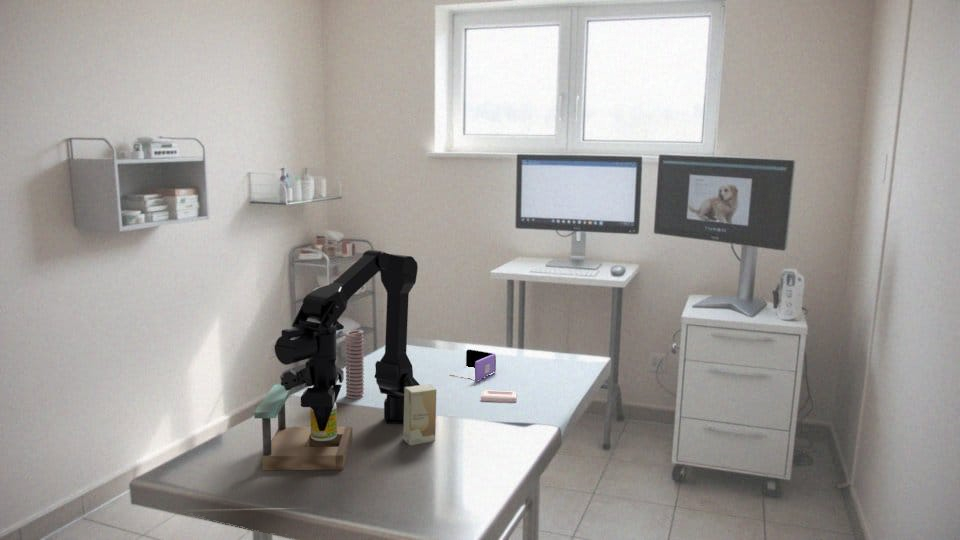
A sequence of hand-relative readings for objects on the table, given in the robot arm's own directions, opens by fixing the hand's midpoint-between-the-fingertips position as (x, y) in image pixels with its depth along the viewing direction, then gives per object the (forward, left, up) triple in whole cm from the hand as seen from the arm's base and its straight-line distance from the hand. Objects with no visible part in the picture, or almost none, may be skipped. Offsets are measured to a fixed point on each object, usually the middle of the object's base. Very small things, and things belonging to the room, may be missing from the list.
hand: (324, 425), depth 154 cm
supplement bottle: (0, 0, -3) cm, 3 cm away
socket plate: (+3, 0, -6) cm, 7 cm away
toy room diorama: (-34, -55, -7) cm, 65 cm away
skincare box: (-20, -7, -7) cm, 22 cm away
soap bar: (-40, -34, -7) cm, 53 cm away
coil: (-2, -37, -6) cm, 38 cm away
